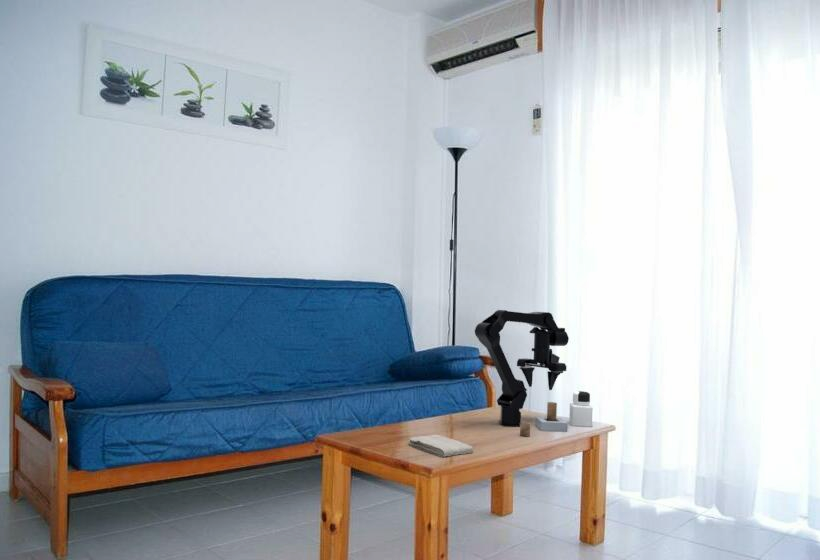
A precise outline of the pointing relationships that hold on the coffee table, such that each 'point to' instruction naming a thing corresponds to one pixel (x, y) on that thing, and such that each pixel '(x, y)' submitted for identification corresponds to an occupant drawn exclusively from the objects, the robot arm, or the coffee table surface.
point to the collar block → (551, 424)
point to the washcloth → (440, 445)
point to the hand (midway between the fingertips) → (540, 388)
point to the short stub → (525, 429)
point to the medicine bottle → (581, 410)
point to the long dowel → (551, 411)
